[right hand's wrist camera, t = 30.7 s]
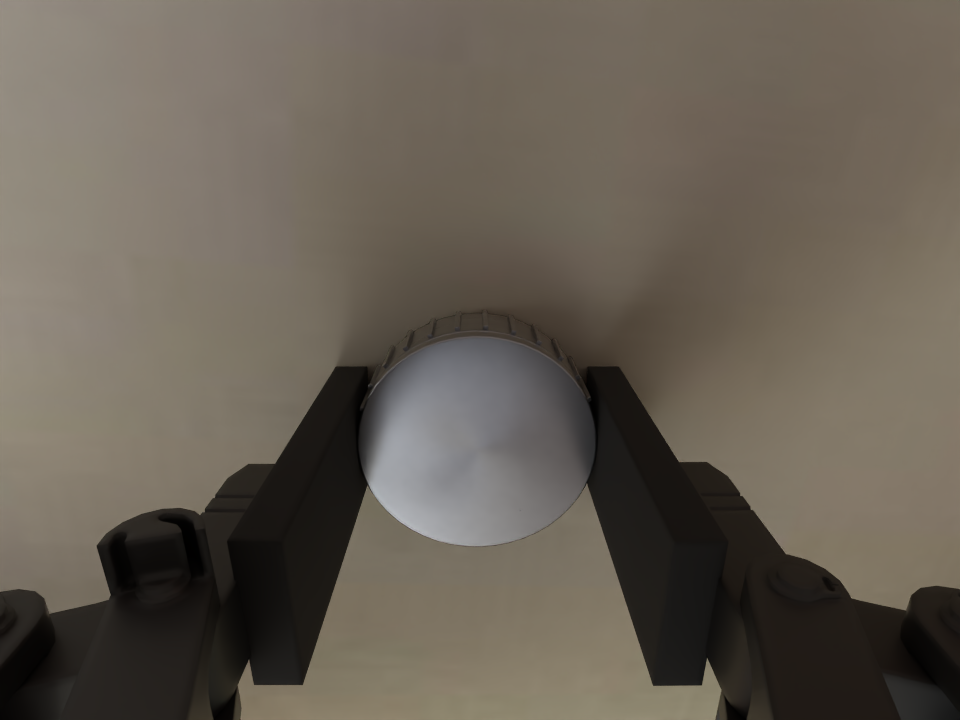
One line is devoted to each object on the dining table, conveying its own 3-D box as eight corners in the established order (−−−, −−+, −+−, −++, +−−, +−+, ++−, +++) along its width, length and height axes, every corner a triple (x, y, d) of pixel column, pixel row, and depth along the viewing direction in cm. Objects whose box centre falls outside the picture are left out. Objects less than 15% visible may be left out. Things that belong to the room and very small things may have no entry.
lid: (325, 436, 15) (307, 474, 13) (449, 262, 13) (446, 281, 12) (499, 540, 16) (501, 585, 14) (632, 392, 14) (651, 424, 13)
